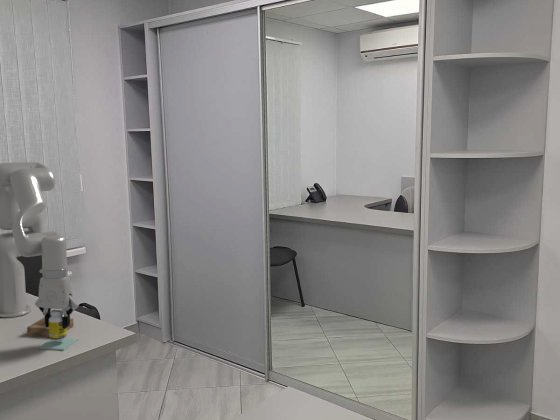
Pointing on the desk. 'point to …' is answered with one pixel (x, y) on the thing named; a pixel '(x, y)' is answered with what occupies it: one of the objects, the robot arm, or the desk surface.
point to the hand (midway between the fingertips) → (57, 325)
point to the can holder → (42, 328)
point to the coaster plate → (58, 344)
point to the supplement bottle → (56, 326)
